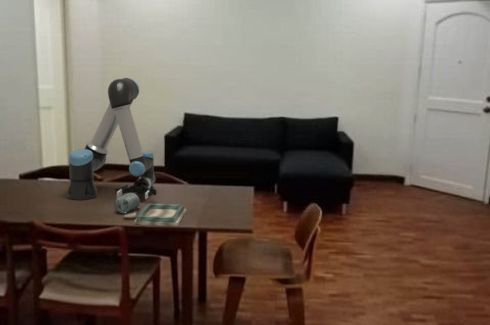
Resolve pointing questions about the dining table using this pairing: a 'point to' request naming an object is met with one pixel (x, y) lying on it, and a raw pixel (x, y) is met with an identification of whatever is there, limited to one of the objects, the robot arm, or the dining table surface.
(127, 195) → the spool
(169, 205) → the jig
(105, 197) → the dining table surface
